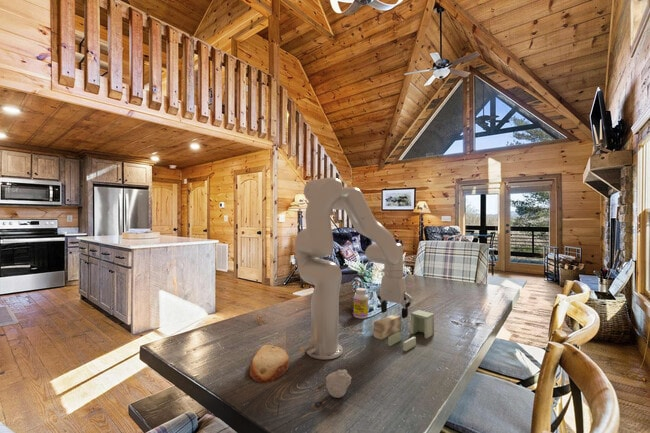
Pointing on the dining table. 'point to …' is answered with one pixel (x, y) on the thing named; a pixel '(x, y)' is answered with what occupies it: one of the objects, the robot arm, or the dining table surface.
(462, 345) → the dining table surface
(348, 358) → the dining table surface
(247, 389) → the dining table surface
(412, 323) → the end cap
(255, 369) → the slice of bread
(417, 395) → the dining table surface
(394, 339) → the cradle
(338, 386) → the pale grey rounded lump
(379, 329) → the tan rectangular block
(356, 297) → the supplement bottle
